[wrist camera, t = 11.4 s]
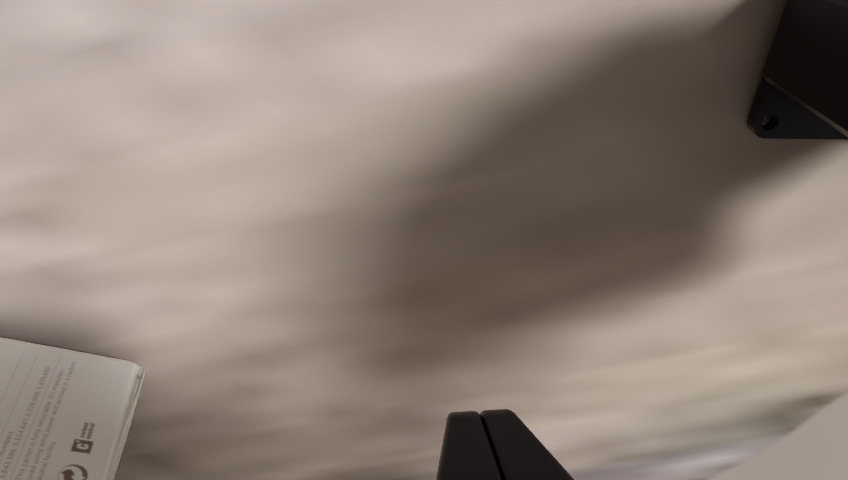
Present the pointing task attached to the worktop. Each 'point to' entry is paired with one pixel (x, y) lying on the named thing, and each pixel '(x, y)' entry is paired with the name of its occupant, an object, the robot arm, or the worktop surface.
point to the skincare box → (63, 412)
